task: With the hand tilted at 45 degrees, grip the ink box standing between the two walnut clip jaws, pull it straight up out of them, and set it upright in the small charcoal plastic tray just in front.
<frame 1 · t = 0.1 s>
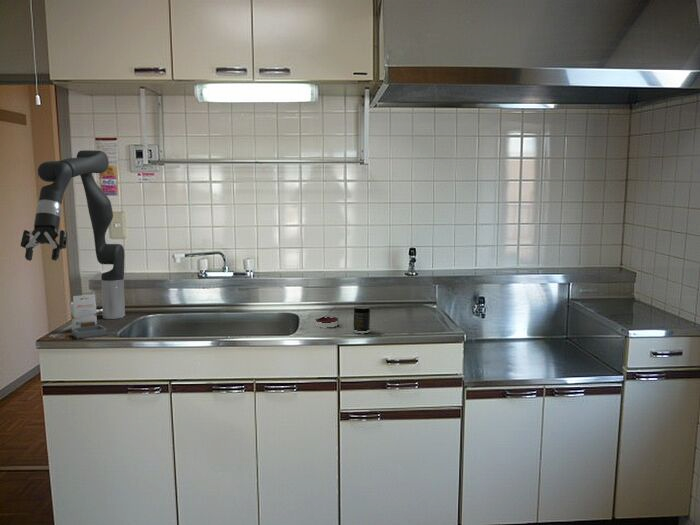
hand: (41, 260, 181), 31 cm above the table, tool tilted 20°, fingers open, 8 cm apart
ink box: (84, 331, 214), on the table
tray: (89, 335, 207), on the table
clip stand: (85, 330, 214), on the table
supplement container: (361, 332, 215), on the table
canned food: (326, 326, 228), on the table
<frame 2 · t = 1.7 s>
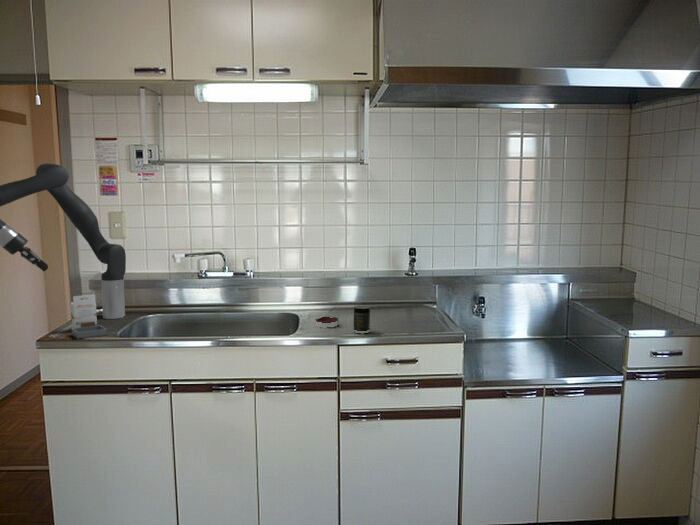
hand: (46, 268, 205), 26 cm above the table, tool tilted 45°, fingers open, 8 cm apart
nothing on the table moved.
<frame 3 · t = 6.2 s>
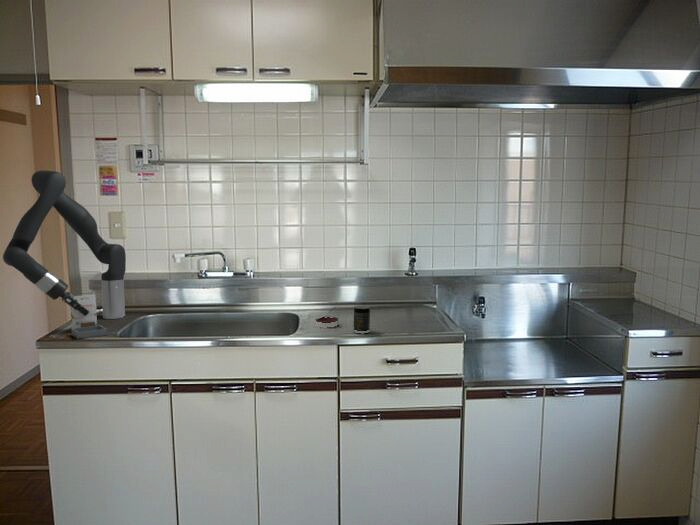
hand: (86, 312, 214), 7 cm above the table, tool tilted 45°, fingers closed on ink box, 5 cm apart
ink box: (84, 330, 214), on the table, touching gripper
everything else where it was.
when the fingers open (10 cm above the table, at t = 12.7 s): ink box drops 2 cm, resting on tray.
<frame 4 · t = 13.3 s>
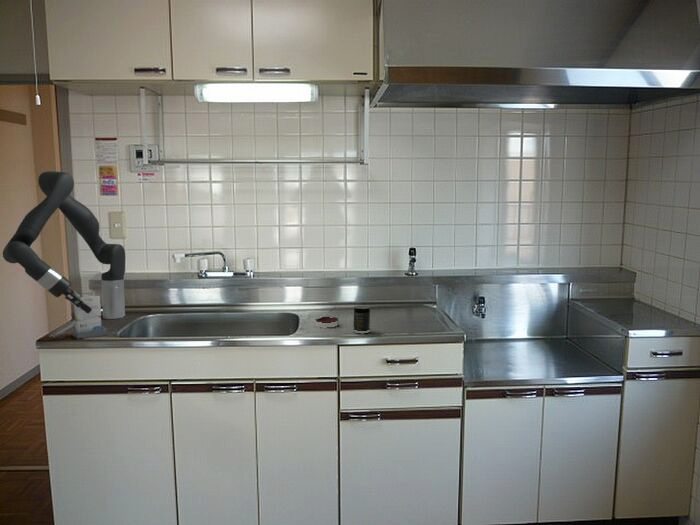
hand: (89, 309, 206), 10 cm above the table, tool tilted 45°, fingers open, 8 cm apart
ink box: (88, 333, 206), point 1 cm above the table, touching tray
everything else where it was.
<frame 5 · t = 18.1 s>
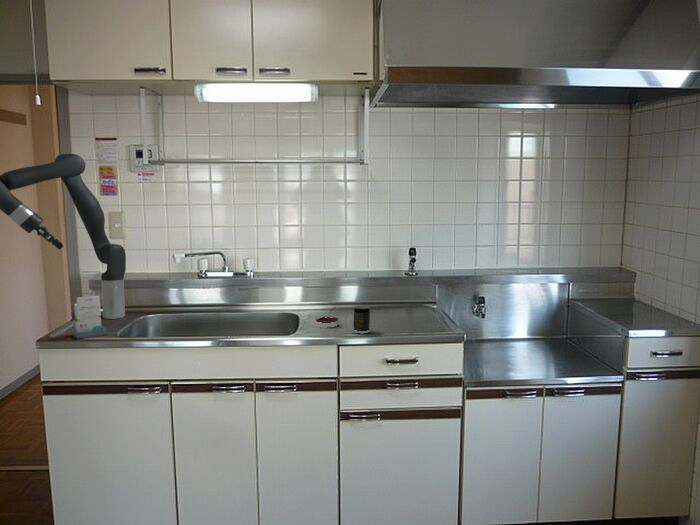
hand: (61, 247, 210), 34 cm above the table, tool tilted 45°, fingers open, 8 cm apart
nothing on the table moved.
at the end: ink box 0.3 cm off-centre on the tray, point 0.6 cm above the tray's base; ink box tilted 0°; the gripper is holding nothing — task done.
